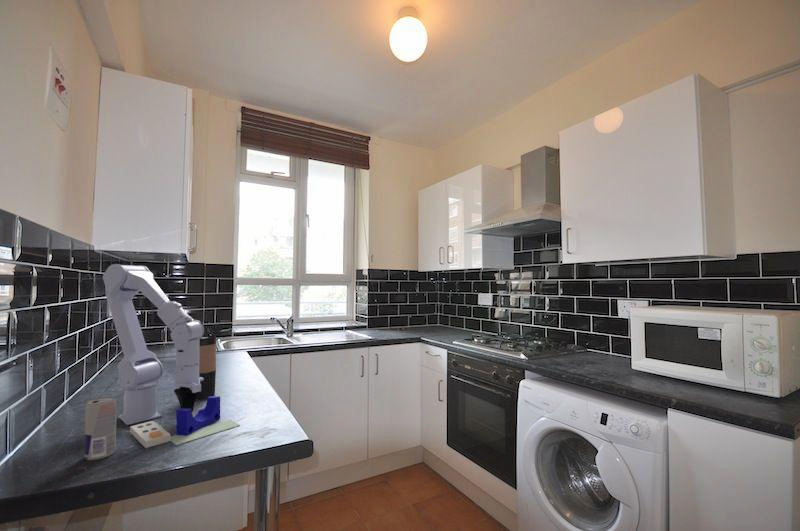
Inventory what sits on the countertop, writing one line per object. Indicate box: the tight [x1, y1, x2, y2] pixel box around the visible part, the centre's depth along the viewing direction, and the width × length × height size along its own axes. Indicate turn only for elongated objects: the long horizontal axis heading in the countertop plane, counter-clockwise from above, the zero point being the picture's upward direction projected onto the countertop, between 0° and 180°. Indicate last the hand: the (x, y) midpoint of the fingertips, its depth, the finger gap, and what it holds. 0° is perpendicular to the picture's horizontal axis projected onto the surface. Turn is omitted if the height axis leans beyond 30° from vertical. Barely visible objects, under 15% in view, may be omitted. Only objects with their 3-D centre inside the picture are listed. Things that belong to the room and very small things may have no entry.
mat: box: [169, 419, 241, 446], centre depth 91 cm, size 6×15×1 cm, turn 139°
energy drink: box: [83, 396, 118, 461], centre depth 80 cm, size 5×5×12 cm
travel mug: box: [195, 335, 217, 401], centre depth 121 cm, size 8×8×20 cm
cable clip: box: [175, 395, 221, 436], centre depth 95 cm, size 12×4×6 cm, turn 168°
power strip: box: [129, 420, 171, 449], centre depth 89 cm, size 14×5×2 cm, turn 49°
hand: (187, 413), depth 100 cm, fingers closed
